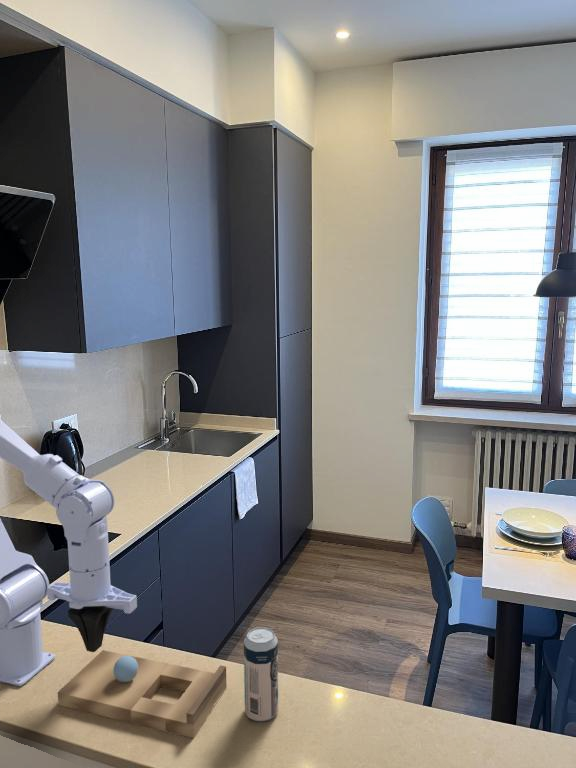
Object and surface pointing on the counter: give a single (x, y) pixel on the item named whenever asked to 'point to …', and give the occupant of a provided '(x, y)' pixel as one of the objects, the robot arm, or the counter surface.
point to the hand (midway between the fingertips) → (94, 648)
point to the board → (145, 693)
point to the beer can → (261, 674)
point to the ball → (125, 669)
